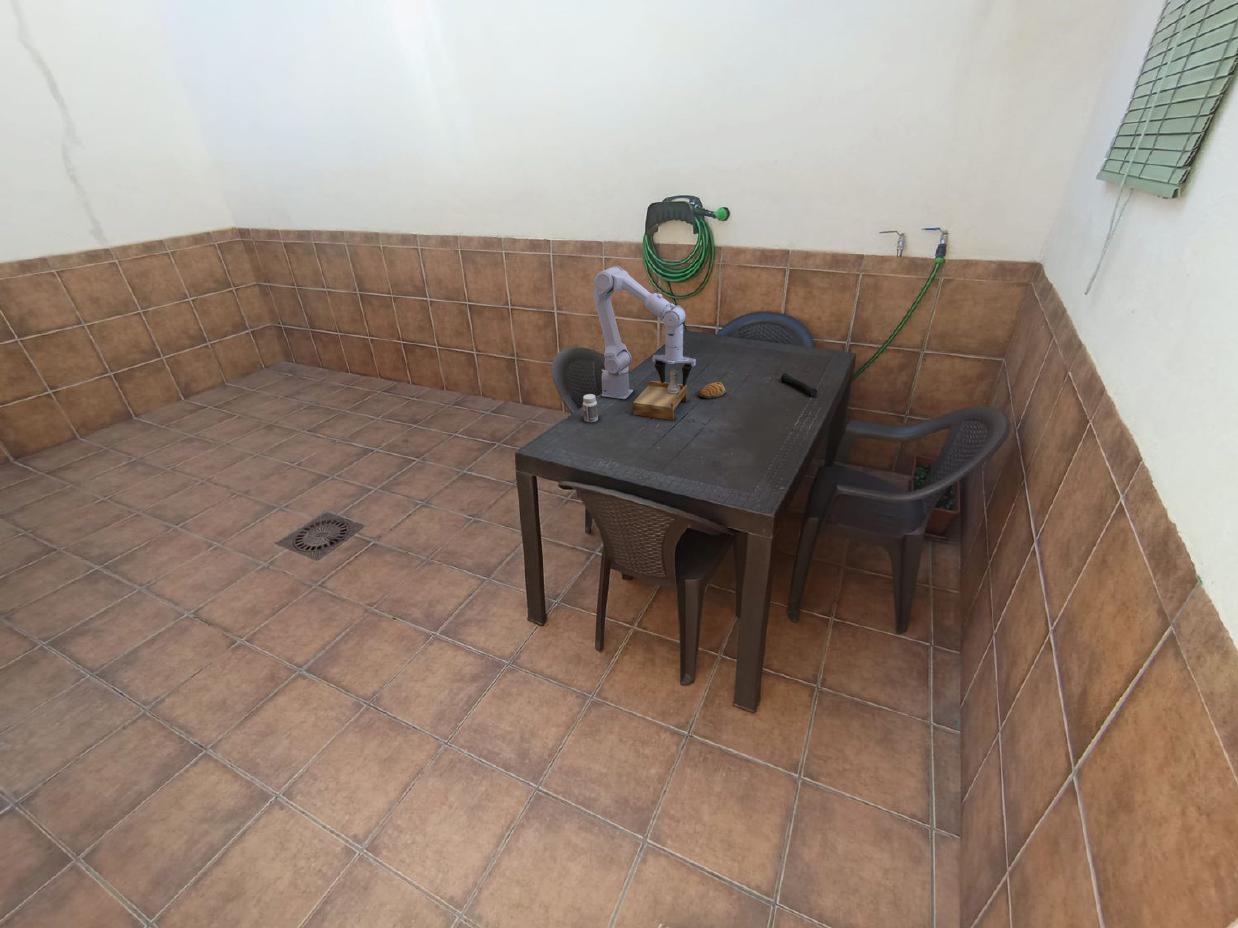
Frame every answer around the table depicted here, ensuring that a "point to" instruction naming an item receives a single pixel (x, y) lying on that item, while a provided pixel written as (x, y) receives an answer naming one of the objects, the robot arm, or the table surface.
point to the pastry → (712, 390)
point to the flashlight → (798, 384)
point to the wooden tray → (659, 401)
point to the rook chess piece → (673, 382)
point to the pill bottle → (590, 408)
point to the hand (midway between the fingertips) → (673, 383)
